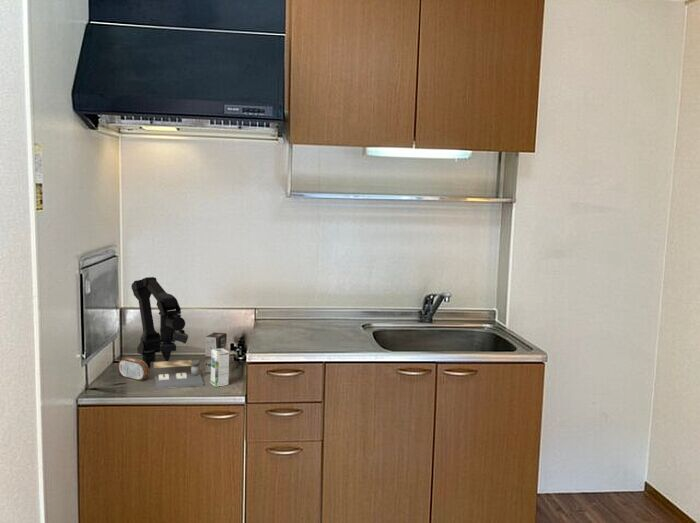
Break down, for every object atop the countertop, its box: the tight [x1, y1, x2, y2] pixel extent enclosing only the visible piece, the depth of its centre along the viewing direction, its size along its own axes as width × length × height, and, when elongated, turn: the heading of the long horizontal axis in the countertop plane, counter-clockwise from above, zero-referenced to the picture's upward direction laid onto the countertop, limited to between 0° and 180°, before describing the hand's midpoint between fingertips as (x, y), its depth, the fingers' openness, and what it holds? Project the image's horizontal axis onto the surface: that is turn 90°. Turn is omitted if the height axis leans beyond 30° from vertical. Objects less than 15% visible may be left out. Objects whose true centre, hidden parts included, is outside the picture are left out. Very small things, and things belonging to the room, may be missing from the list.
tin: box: [118, 356, 150, 381], centre depth 233 cm, size 15×3×8 cm, turn 65°
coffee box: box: [204, 332, 228, 373], centre depth 249 cm, size 9×6×16 cm
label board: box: [154, 366, 204, 389], centre depth 231 cm, size 14×18×5 cm
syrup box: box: [210, 349, 230, 388], centre depth 230 cm, size 6×6×14 cm
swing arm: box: [149, 358, 200, 370], centre depth 234 cm, size 20×4×2 cm, turn 111°
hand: (167, 362), depth 238 cm, fingers closed
